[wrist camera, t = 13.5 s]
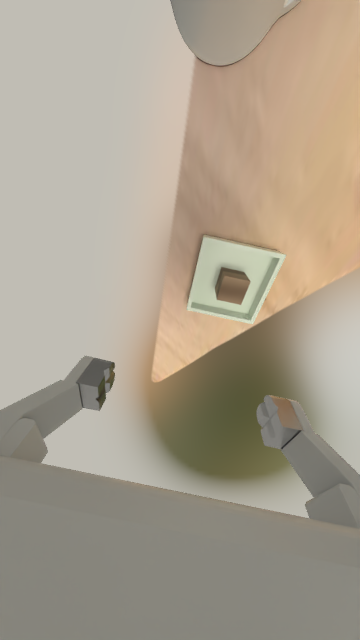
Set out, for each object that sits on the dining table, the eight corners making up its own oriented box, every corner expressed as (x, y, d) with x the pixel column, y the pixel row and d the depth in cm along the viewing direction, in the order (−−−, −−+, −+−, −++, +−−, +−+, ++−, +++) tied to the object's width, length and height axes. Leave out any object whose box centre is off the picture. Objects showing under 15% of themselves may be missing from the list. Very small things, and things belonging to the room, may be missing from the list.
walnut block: (221, 266, 39) (224, 275, 34) (244, 272, 39) (250, 281, 34) (214, 288, 41) (216, 299, 36) (236, 293, 41) (241, 304, 36)
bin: (203, 234, 37) (203, 236, 33) (278, 250, 37) (286, 255, 33) (187, 302, 45) (186, 309, 41) (248, 315, 45) (252, 324, 42)
